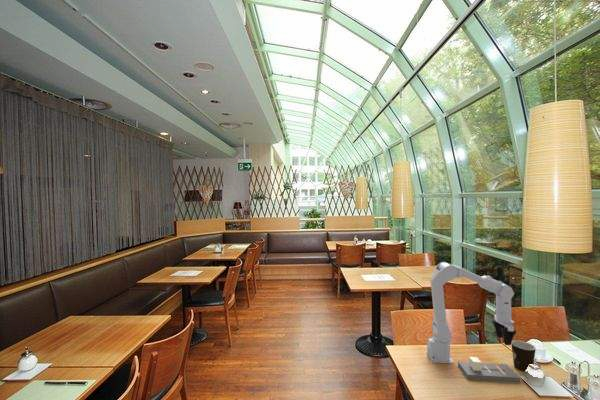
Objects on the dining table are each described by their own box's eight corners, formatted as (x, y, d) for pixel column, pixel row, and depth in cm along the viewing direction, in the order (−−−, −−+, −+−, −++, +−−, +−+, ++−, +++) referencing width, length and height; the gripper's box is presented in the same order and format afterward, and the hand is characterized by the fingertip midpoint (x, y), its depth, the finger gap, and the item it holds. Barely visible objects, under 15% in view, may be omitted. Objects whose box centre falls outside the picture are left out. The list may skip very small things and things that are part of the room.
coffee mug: (536, 376, 126) (536, 352, 126) (510, 369, 131) (511, 346, 131) (534, 364, 136) (534, 341, 136) (511, 358, 141) (511, 336, 141)
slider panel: (467, 379, 124) (467, 374, 124) (458, 366, 134) (458, 361, 134) (520, 382, 122) (520, 377, 122) (506, 369, 132) (506, 364, 132)
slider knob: (473, 370, 126) (473, 361, 126) (469, 365, 131) (469, 356, 131) (481, 371, 126) (481, 362, 126) (476, 365, 130) (476, 357, 130)
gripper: (521, 317, 129) (521, 349, 129) (506, 305, 143) (506, 334, 143) (503, 316, 130) (503, 347, 130) (489, 304, 144) (489, 333, 144)
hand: (503, 340), depth 137 cm, fingers open, 7 cm apart
